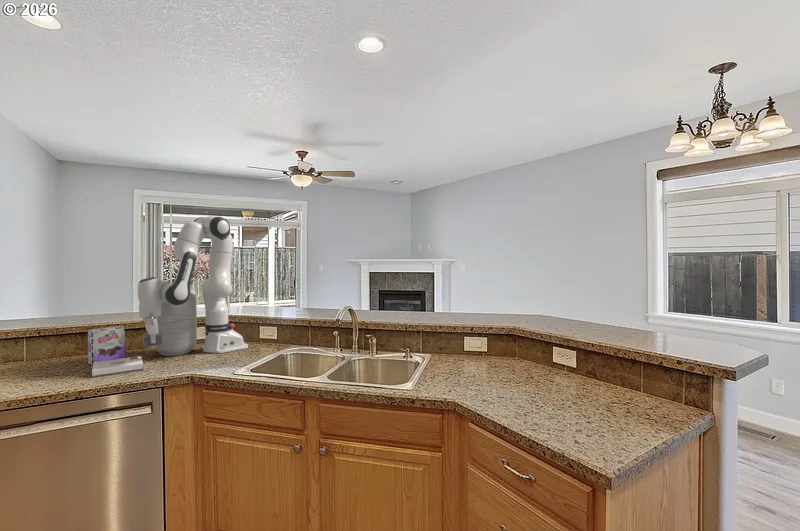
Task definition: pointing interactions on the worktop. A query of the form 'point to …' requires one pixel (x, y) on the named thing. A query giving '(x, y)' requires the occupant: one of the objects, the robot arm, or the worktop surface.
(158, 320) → the vase
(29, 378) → the worktop surface
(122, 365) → the socket
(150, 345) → the plug
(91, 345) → the candy box
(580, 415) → the worktop surface
